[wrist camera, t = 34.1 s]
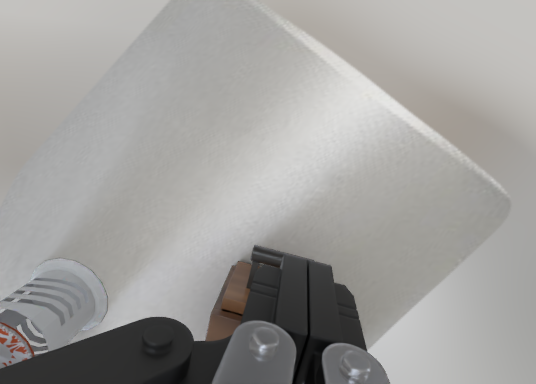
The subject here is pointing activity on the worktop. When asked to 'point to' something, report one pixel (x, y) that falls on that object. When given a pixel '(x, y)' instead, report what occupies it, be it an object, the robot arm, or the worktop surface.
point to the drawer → (248, 278)
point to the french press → (50, 309)
